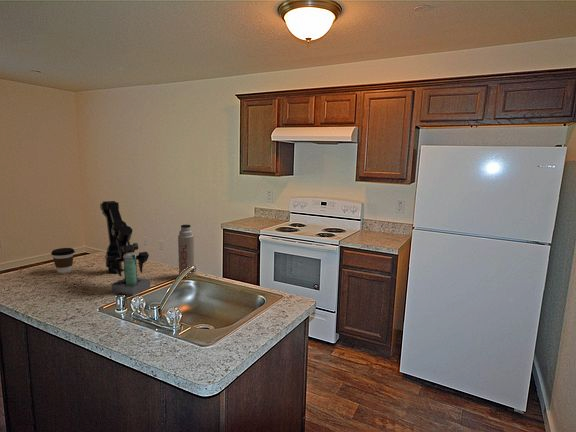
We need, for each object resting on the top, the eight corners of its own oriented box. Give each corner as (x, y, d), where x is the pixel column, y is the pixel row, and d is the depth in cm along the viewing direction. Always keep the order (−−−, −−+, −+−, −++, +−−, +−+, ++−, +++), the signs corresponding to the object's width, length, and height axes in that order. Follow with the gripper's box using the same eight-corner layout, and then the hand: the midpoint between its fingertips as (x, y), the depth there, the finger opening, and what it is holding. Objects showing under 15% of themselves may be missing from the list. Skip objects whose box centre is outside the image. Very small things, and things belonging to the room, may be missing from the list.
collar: (130, 284, 182) (129, 276, 182) (150, 287, 179) (149, 279, 178) (111, 292, 171) (111, 284, 170) (132, 296, 167) (132, 287, 167)
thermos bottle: (188, 279, 191) (187, 227, 187) (175, 277, 194) (174, 225, 190) (197, 274, 199) (196, 224, 194) (185, 272, 202) (184, 223, 197)
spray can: (139, 287, 178) (137, 247, 175) (134, 291, 172) (133, 250, 169) (127, 287, 178) (125, 247, 174) (123, 291, 172) (121, 250, 169)
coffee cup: (49, 271, 198) (47, 250, 196) (70, 267, 206) (69, 246, 204) (57, 276, 191) (55, 253, 189) (79, 271, 200) (78, 249, 198)
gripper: (105, 240, 168) (112, 269, 161) (146, 235, 180) (154, 262, 173) (102, 252, 176) (109, 281, 169) (142, 247, 187) (150, 274, 180)
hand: (131, 274), depth 173 cm, fingers open, 9 cm apart
